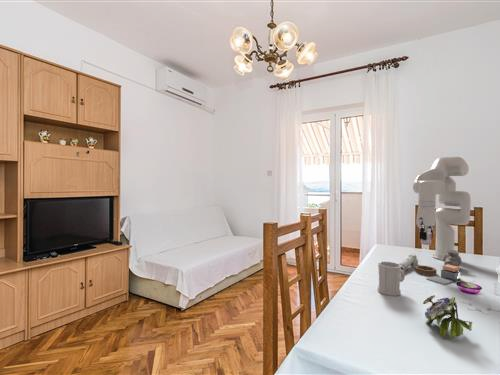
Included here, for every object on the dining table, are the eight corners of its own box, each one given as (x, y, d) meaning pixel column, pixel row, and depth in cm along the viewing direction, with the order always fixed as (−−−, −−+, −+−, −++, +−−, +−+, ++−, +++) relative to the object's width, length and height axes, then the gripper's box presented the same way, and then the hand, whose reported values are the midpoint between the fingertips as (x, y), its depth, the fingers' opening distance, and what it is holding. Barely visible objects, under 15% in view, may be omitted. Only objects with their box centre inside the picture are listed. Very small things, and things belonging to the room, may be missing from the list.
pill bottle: (431, 245, 140) (431, 229, 140) (420, 244, 143) (421, 228, 143) (431, 243, 145) (431, 227, 144) (420, 242, 147) (421, 227, 147)
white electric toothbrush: (393, 264, 145) (409, 250, 162) (394, 277, 145) (409, 261, 163) (405, 267, 141) (419, 252, 158) (405, 279, 142) (419, 263, 159)
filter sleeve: (421, 269, 150) (421, 264, 150) (439, 273, 142) (439, 269, 142) (411, 271, 146) (411, 266, 146) (429, 276, 138) (429, 271, 138)
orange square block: (447, 274, 139) (448, 264, 138) (459, 277, 134) (459, 267, 134) (442, 275, 136) (442, 265, 136) (453, 279, 132) (454, 268, 132)
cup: (383, 285, 125) (383, 259, 125) (405, 291, 119) (405, 263, 118) (374, 291, 118) (374, 264, 118) (397, 298, 111) (397, 269, 111)
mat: (435, 276, 138) (435, 275, 138) (453, 282, 131) (453, 280, 131) (426, 279, 134) (426, 278, 134) (444, 284, 127) (444, 283, 127)
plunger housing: (447, 275, 139) (447, 268, 139) (460, 279, 134) (461, 271, 134) (440, 277, 136) (441, 269, 136) (454, 281, 131) (454, 273, 131)
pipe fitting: (443, 263, 159) (445, 247, 157) (460, 267, 153) (462, 250, 152) (440, 271, 150) (442, 253, 148) (458, 275, 144) (460, 257, 143)
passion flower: (429, 343, 91) (422, 300, 98) (476, 347, 85) (464, 302, 92) (426, 335, 82) (418, 290, 90) (478, 340, 76) (465, 290, 84)
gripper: (428, 203, 151) (427, 236, 151) (410, 204, 142) (409, 239, 143) (443, 204, 144) (442, 238, 144) (425, 205, 136) (424, 242, 136)
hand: (426, 238), depth 144 cm, fingers closed on pill bottle, 4 cm apart
